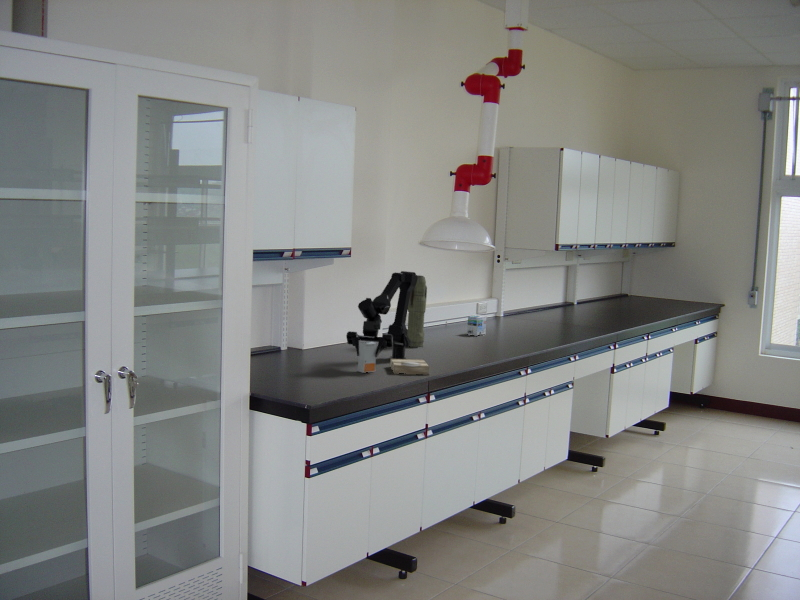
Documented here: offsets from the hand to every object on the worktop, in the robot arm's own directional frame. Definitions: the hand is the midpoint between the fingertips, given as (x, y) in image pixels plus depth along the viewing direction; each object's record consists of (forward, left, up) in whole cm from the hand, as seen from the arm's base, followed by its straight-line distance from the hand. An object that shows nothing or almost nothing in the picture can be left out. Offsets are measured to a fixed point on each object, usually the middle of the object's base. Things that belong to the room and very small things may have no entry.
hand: (366, 356), depth 300 cm
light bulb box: (-108, +72, -7) cm, 131 cm away
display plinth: (-5, +18, -7) cm, 20 cm away
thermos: (-65, +30, -7) cm, 72 cm away
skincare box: (-1, 0, -7) cm, 7 cm away
